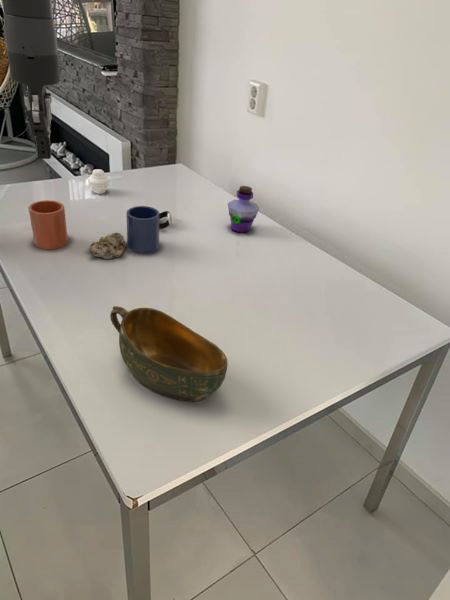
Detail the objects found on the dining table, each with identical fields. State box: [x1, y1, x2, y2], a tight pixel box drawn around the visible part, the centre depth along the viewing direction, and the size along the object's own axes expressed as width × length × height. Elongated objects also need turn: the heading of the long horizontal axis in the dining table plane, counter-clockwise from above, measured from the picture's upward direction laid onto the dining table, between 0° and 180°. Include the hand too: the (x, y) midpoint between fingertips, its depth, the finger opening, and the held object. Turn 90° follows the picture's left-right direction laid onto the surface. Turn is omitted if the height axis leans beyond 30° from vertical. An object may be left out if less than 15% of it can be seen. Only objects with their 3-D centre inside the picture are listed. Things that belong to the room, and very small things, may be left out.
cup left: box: [28, 200, 69, 250], centre depth 106 cm, size 8×8×9 cm
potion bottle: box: [227, 185, 260, 234], centre depth 122 cm, size 9×9×12 cm
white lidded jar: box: [87, 168, 110, 195], centre depth 135 cm, size 6×6×7 cm
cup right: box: [125, 205, 160, 255], centre depth 109 cm, size 8×8×9 cm
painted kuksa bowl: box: [109, 305, 228, 402], centre depth 73 cm, size 13×20×10 cm, turn 33°
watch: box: [159, 210, 173, 230], centre depth 122 cm, size 8×5×4 cm, turn 179°
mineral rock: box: [89, 232, 127, 260], centre depth 108 cm, size 11×4×8 cm
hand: (44, 157), depth 81 cm, fingers closed
